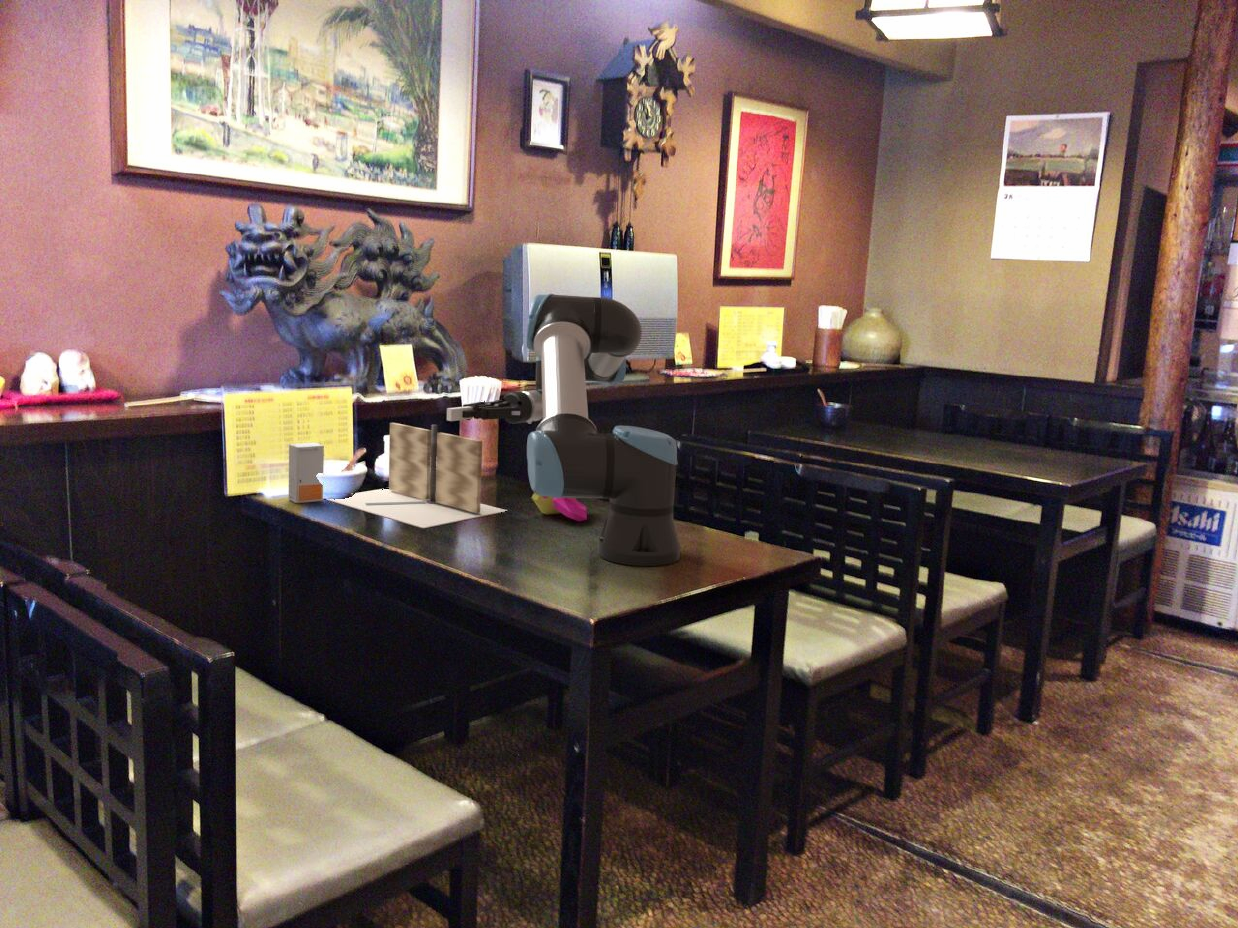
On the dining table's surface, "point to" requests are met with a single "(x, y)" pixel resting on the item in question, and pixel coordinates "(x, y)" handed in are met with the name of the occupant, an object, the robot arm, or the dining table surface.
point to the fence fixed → (455, 471)
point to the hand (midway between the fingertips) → (449, 414)
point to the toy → (561, 506)
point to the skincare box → (305, 472)
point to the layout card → (411, 508)
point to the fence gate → (410, 460)
